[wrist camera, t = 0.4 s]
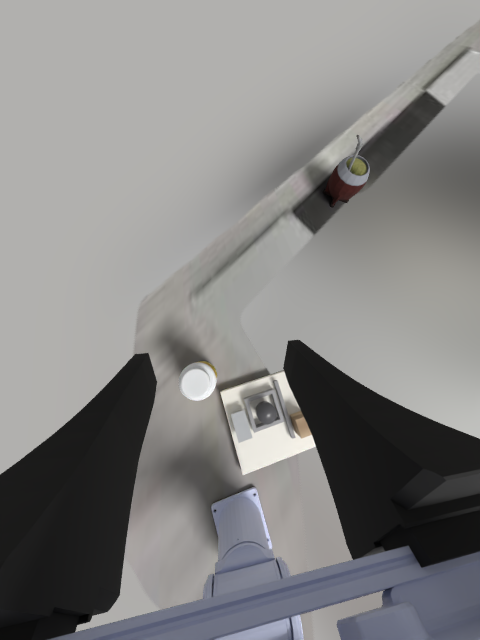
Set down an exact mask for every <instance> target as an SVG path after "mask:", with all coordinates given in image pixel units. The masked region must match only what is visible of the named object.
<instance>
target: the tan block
mask: <svg viewBox="0 0 480 640" xmlns="http://www.w3.org/2000/svg"><path fill="white" fill-rule="evenodd" d="M290 418H291V421H292V424H293V427H294V431H295V433H296V434H297V435H298V436H299V437H300V438H301V439H302V438H305V437H307V436H310V435H312V434H311V432H310V429H309V427H308V425H307V422H306V420H305V418H304V416H303V414H302V412H301V411H299V412H296V413H293V414H291V415H290Z"/></svg>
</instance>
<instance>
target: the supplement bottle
mask: <svg viewBox="0 0 480 640" xmlns="http://www.w3.org/2000/svg"><path fill="white" fill-rule="evenodd" d="M216 381H217V372H216V369H215V368H214V366H213V365H212V364H210V363H209V362H205V361H199V362H195V363H192V364H190V365H188V366H187V367H185V368H184V369H183V371H182V372H181V374H180V377H179V388H180V390H181V392H182V394H183V395H184V396H185V397H186V398H188V399H190V400H194V401H199V400H203V399H205V398H207V397H208V396H209V395H210V394H211V393H212V392H213V390H214V388H215V386H216Z"/></svg>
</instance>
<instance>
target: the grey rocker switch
mask: <svg viewBox="0 0 480 640" xmlns="http://www.w3.org/2000/svg"><path fill="white" fill-rule="evenodd" d="M231 417H232V420H233V424H234V428H235V431H236V435H237V439H238V442H239V443H240V442H243V441H246V440H248V439H251V438H253V437H252V434H251V431H250V427H249V424H248V420H247V417H246V414H245V410H241V411H238V412H235V413H232V414H231Z"/></svg>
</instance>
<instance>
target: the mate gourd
mask: <svg viewBox="0 0 480 640" xmlns="http://www.w3.org/2000/svg"><path fill="white" fill-rule="evenodd" d="M357 139H358V144H357V147H356V151H355V153H354V155H352V156H349V157H346V158H345V159H343V160H342V161H341V162H340V163H339V164H338V165H337V166H336V168H335V169H334V171H333V173H332V175H331V177H330V179H329V181H328V183H327V187H326V189H324V191H323V193H324V194H326V195H328V196H331V197H333V199H332V202H331V205H330V207H332V208H333V207H334V205H335V203H336V202H337V201H338V200H340V201H342V202H345V203H347V202H348V201H349V199H350V198H351V197H352V196H354V195H355V194H356V193H357V192H359V191H360V190H361V189H362V188H363V186H364V185H365V183H366V181H367V179H368V176H369V172H370V168H369V164H368V162H367V161H366V160H365V159H364V158H363V157H361V156H358V155H357V154H358V152H359V150H360V149H361V147H362V139H361V137H360V136H359V135H357Z"/></svg>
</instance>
